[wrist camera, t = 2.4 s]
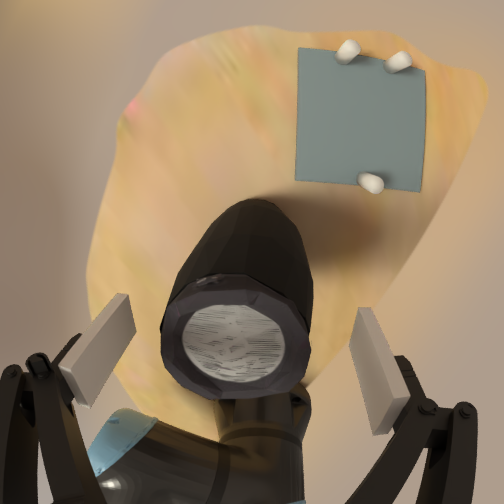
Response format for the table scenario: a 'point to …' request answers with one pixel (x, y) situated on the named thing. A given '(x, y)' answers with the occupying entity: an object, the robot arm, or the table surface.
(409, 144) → the pin pad
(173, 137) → the table surface
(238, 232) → the portable speaker
